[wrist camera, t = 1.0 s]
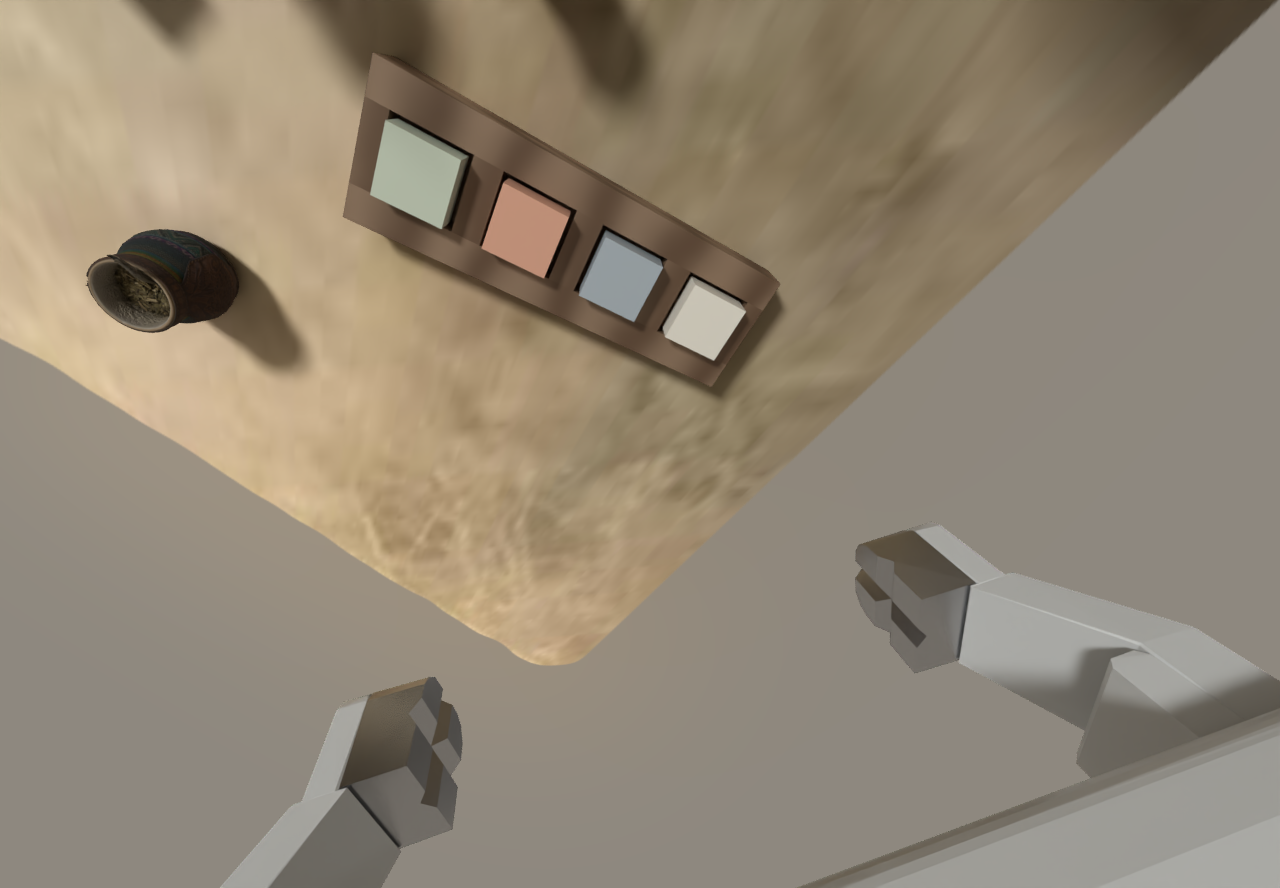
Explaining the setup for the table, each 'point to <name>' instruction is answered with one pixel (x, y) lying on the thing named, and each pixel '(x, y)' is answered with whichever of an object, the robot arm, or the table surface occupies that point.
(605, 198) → the key frame
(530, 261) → the terracotta key
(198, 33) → the table surface
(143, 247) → the mate gourd
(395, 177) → the sage key
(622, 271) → the slate key
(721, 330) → the cream key
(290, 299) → the table surface
